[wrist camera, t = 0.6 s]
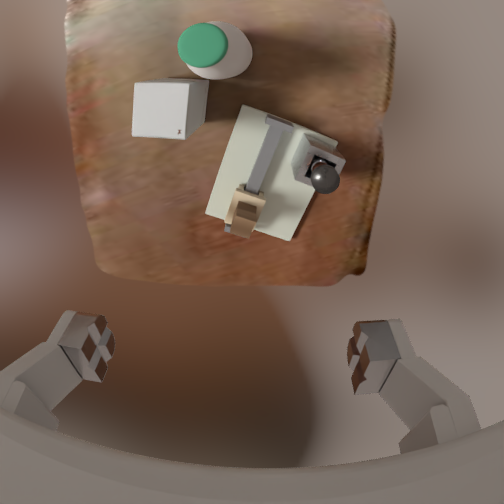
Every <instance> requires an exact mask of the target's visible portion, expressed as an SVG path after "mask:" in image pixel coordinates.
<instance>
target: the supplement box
mask: <svg viewBox="0 0 504 504" xmlns="http://www.w3.org/2000/svg"><path fill="white" fill-rule="evenodd" d="M208 88H209V80H198V79H178V78H162V79H154V80H148V81H143V82H137V83H135V87H134V105H133V121H132V136H134V137H155V138H171V139H183V140H186V139H187V138H188V137H189V136H190V135H191V134H192V133H193V132H194V131H195V130H197V129H198V128H199V127H200V126H201V125H202V124H203V123H204V122H205V114H206V104H207V96H208Z"/></svg>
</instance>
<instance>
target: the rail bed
mask: <svg viewBox="0 0 504 504" xmlns="http://www.w3.org/2000/svg"><path fill="white" fill-rule="evenodd" d="M303 133H305V134H307V135H310V136H312V137H315V138H317V139H319V140H322V141H324V142H326V143H328V144H331V145H333V146H335V147H336V146H337V144H338V142H337V141H336V140H334V139H331V138H329V137H327V136H325V135H322V134H320V133H318V132H315V131H313V130H311V129H308V128H306V127H303V126H301V125H298V124H296V123H293V122H291V121H288V120H286V119H283V118H280V117H278V116H275V115H272V114H270V113H267V112H264V111H261V110H258V109H256V108H253V107H250V106H247V105H244V104H243V105H242V107H241V110H240V113H239V116H238V118H237V121H236V124H235V127H234V129H233V132H232V135H231V138H230V140H229V143H228V146H227V149H226V152H225V155H224V158H223V161H222V163H221V166H220V169H219V172H218V175H217V178H216V181H215V184H214V187H213V190H212V193H211V197H210V200H209V203H208V206H207V209H206V212H205V214H208V215H211V216H214V217H217V218H220V219H223V220H225V217H226V215H227V212H228V209H229V206H230V204H231V201H232V198H233V195H234V193H235V190H236V188H238V187H239V184H242V185H244V190H245V191H248V192H250V193H253V194H256V195H258V192H259V191H262V192H264V197H265V198H266V202H265V204H264V207H263V209H262V211H261V214H260V216H259V219H258V221H257V223H256V226H255V228H254V230H257V231H260V232H263V233H266V234H269V235H272V236H275V237H278V238H281V239H284V240H287V241H290V239H291V237H292V236H293V234H294V232H295V230H296V228H297V226H298V224H299V222H300V220H301V218H302V216H303V214H304V212H305V210H306V208H307V206H308V204H309V202H310V200H311V197H312V195H313V193H314V191H315V189H314V188H313V187H312V186H309V185H307V184H304V183H301V182H299V181H296V180H295V179H294V175H293V171H292V167H291V161H292V158H293V156H294V154H295V151H296V149H297V147H298V145H299V142H300V140H301V138H302V136H303ZM230 228H231V224H228V223H226V226H225V230H224V231H226V232H229V233H230ZM232 234H233V233H232ZM235 235H236V234H235ZM238 236H239V235H238ZM241 237H242V236H241Z"/></svg>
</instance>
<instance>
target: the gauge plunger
mask: <svg viewBox="0 0 504 504" xmlns="http://www.w3.org/2000/svg"><path fill="white" fill-rule="evenodd" d="M309 166H310V168H311V171H312V173H311V183H312V186H313V188H314V189H315V190H316V191H317V192H319V193H322V194H328V193H331V192H333V191H335V190H336V189H337V187H338V186H339V183H340V177H339V174H338V173H337V171H336V170H335V168H333V167H332V166H330V165H327V163H326V161H325V160H324V158H321V157H319V156H317V155H314V157H313V159H312V161H311V163H310V165H309Z"/></svg>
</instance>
